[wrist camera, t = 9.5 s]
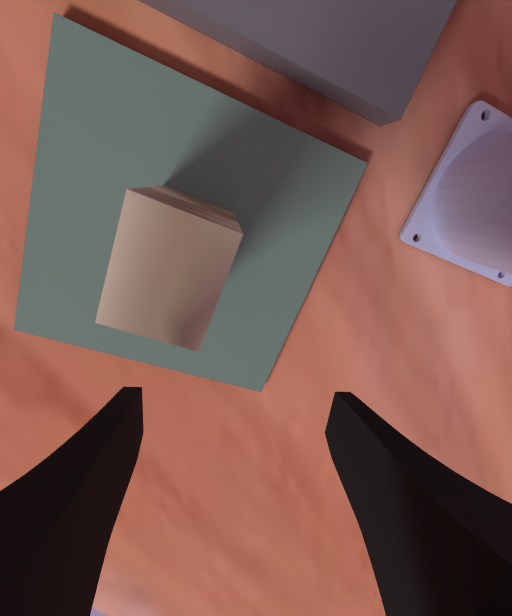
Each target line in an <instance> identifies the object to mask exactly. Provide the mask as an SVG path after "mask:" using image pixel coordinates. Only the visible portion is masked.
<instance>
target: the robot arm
mask: <svg viewBox="0 0 512 616" xmlns="http://www.w3.org/2000/svg"><path fill="white" fill-rule="evenodd" d="M482 112H484V113H485V117H484V119H483V120H482V119H481V115H482ZM415 234H417V239H416V240H415V241H413V237H414V235H415ZM400 239H401V241H403V242H405V243H407V244H409V245H412V246H414V247H416V248H419V249H421V250H423V251H426V252H428V253H431V254H433V255H435V256H438V257H440V258H442V259H445V260H447V261H449V262H452V263H454V264H456V265H459V266H461V267H464V268H466V269H468V270H471V271H473V272H475V273H478V274H480V275H482V276H485V277H487V278H489V279H492V280H494V281H497V282H499V283H501V284H504V285H506V286H512V118H511V117H510V116H508V115H506V114H505V113H503V112H501V111H499V110H498V109H496V108H494V107H493V106H491V105H489V104H488V103H486V102H484V101H482V100H479V101H475V102H473V103H471V104H470V105H469V106H468V107H467V109H466V111H465V113H464V114H463V116H462V118H461V120H460V122H459V124H458V126H457V127H456V129H455V131H454V133H453V135H452V137H451V139H450V141H449V142H448V144H447V146H446V148H445V150H444V152H443V154H442V155H441V157H440V159H439V161H438V163H437V165H436V167H435V168H434V170H433V172H432V174H431V176H430V178H429V180H428V181H427V183H426V185H425V187H424V189H423V191H422V193H421V195H420V196H419V198H418V200H417V202H416V204H415V206H414V208H413V209H412V211H411V213H410V215H409V217H408V219H407V221H406V222H405V224H404V226H403V228H402V230H401V232H400ZM500 272H501V273H500ZM499 273H500V275H499V276H498V274H499ZM325 435H326V439H327V443H328V447H329V450H330V454H331V457H332V460H333V463H334V465H335V468H336V470H337V473H338V475H339V477H340V480H341V482H342V485H343V487H344V490H345V492H346V494H347V497H348V499H349V502H350V504H351V506H352V509H353V511H354V514H355V516H356V519H357V521H358V524H359V527H360V529H361V532H362V535H363V538H364V541H365V545H366V548H367V551H368V554H369V557H370V561H371V564H372V567H373V571H374V574H375V578H376V581H377V585H378V588H379V592H380V595H381V598H382V602H383V606H384V610H385V613H386V616H512V504H511V503H509V502H507V501H505V500H503V499H501V498H499V497H497V496H496V495H494V494H492V493H490V492H488V491H486V490H485V489H483V488H481V487H480V486H478V485H476V484H474V483H473V482H471V481H469V480H467V479H466V478H464V477H462V476H461V475H459V474H458V473H456V472H454V471H453V470H451V469H450V468H448V467H447V466H445V465H444V464H442V463H441V462H439V461H438V460H436V459H435V458H433V457H432V456H430V455H429V454H427V453H426V452H425V451H423V450H422V449H420V448H419V447H418V446H416V445H415V444H414V443H412V442H411V441H410V440H408V439H407V438H406V437H405V436H403V435H402V434H401V433H399V432H398V431H397V430H396V429H394V428H393V427H392V426H391V425H389V424H388V423H387V422H386V421H385V420H383V419H382V418H381V417H380V416H379V415H377V414H376V413H375V412H374V411H373V410H372V409H370V408H369V407H368V406H367V405H366V404H364V403H363V402H362V401H361V400H360V399H358V398H357V397H356V396H355V395H353V394H352V393H351V392H335V394H334V398H333V402H332V406H331V410H330V414H329V418H328V422H327V426H326V430H325ZM142 436H143V406H142V387H123V388H122V389H121V390H120V391H119V392H118V393H117V394H116V395H115V396H114V397H113V398H112V399H111V400H110V401H109V402H108V403H107V404H106V405H105V406H104V407H103V408H102V409H101V410H100V411H99V412H98V413H97V414H96V415H95V416H94V417H93V418H92V419H91V420H89V421H88V422H87V423H86V424H85V425H84V426H83V427H82V428H81V429H80V430H79V431H78V432H77V433H75V434H74V435H73V436H72V437H71V438H70V439H68V440H67V441H66V442H65V443H64V444H63V445H62V446H60V447H59V448H58V449H57V450H56V451H54V452H53V453H52V454H51V455H50V456H48V457H47V458H46V459H45V460H43V461H42V462H41V463H39V464H38V465H37V466H35V467H34V468H33V469H31V470H30V471H29V472H27V473H26V474H25V475H23V476H22V477H21V478H19V479H18V480H16V481H15V482H13V483H12V484H10V485H9V486H7V487H6V488H4V489H3V490H1V491H0V616H90V613H91V609H92V605H93V601H94V597H95V593H96V589H97V585H98V581H99V577H100V573H101V569H102V565H103V562H104V558H105V554H106V550H107V546H108V543H109V540H110V536H111V533H112V530H113V527H114V524H115V521H116V518H117V516H118V513H119V510H120V507H121V504H122V501H123V499H124V496H125V493H126V490H127V487H128V485H129V482H130V479H131V476H132V473H133V470H134V467H135V464H136V461H137V458H138V454H139V449H140V445H141V441H142Z"/></svg>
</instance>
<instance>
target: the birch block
mask: <svg viewBox="0 0 512 616" xmlns="http://www.w3.org/2000/svg"><path fill="white" fill-rule="evenodd" d="M242 236H243V232H242V230H241V228H240V225H239V223H238V220H237V218H236V216H235V213H232V212H230V211H227V210H225V209H222V208H220V207H217V206H215V205H212V204H210V203H207V202H205V201H202V200H200V199H197V198H195V197H192V196H190V195H187V194H185V193H182V192H180V191H177V190H175V189H172V188H170V187H167V186H165V185H158V186H149V187H140V188H131V189H126V193H125V198H124V202H123V206H122V210H121V215H120V219H119V223H118V227H117V232H116V236H115V240H114V244H113V249H112V253H111V257H110V261H109V265H108V270H107V274H106V278H105V282H104V287H103V291H102V295H101V299H100V304H99V308H98V312H97V316H96V321H95V323H97V324H101V325H104V326H108V327H111V328H115V329H118V330H122V331H126V332H129V333H133V334H136V335H140V336H143V337H147V338H150V339H154V340H158V341H161V342H165V343H168V344H172V345H175V346H179V347H183V348H186V349H190V350H193V351H197V352H199V351H200V348H201V345H202V343H203V340H204V337H205V335H206V332H207V329H208V327H209V324H210V321H211V319H212V316H213V313H214V311H215V308H216V305H217V303H218V300H219V297H220V295H221V292H222V289H223V287H224V284H225V281H226V279H227V276H228V273H229V271H230V268H231V265H232V263H233V260H234V258H235V255H236V252H237V250H238V247H239V244H240V242H241V239H242Z"/></svg>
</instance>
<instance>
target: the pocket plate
mask: <svg viewBox="0 0 512 616" xmlns="http://www.w3.org/2000/svg"><path fill="white" fill-rule="evenodd" d="M139 1H141V2H143V3H145V4H147V5H149V6H151V7H153V8H154V9H156V10H158V11H160V12H162V13H164V14H166V15H168V16H170V17H172V18H174V19H176V20H178V21H179V22H181V23H183V24H185V25H187V26H189V27H191V28H193V29H195V30H197V31H199V32H201V33H203V34H204V35H206V36H208V37H210V38H212V39H214V40H216V41H218V42H220V43H222V44H224V45H226V46H228V47H229V48H231V49H233V50H235V51H237V52H239V53H241V54H243V55H245V56H247V57H249V58H251V59H253V60H254V61H256V62H258V63H260V64H262V65H264V66H266V67H268V68H270V69H272V70H274V71H276V72H278V73H279V74H281V75H283V76H285V77H287V78H289V79H291V80H293V81H295V82H297V83H299V84H301V85H303V86H304V87H306V88H308V89H310V90H312V91H314V92H316V93H318V94H320V95H322V96H324V97H326V98H328V99H329V100H331V101H333V102H335V103H337V104H339V105H341V106H343V107H345V108H347V109H349V110H351V111H353V112H354V113H356V114H358V115H360V116H362V117H364V118H366V119H368V120H370V121H372V122H374V123H376V124H378V125H379V126H382V125H385V124H389V123H392V122H395V121H398V120H400V119H401V117H402V115H403V113H404V111H405V109H406V107H407V104H408V102H409V100H410V98H411V96H412V94H413V92H414V90H415V88H416V86H417V84H418V81H419V79H420V77H421V75H422V73H423V71H424V69H425V67H426V65H427V63H428V60H429V58H430V56H431V54H432V52H433V50H434V48H435V46H436V44H437V42H438V40H439V37H440V35H441V33H442V31H443V29H444V27H445V25H446V23H447V21H448V19H449V17H450V14H451V12H452V10H453V8H454V6H455V4H456V2H457V0H139Z"/></svg>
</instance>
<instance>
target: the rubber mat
mask: <svg viewBox="0 0 512 616" xmlns="http://www.w3.org/2000/svg"><path fill="white" fill-rule="evenodd" d="M367 164H368V163H366V162H364V161H362V160H360V159H358V158H356V157H354V156H352V155H350V154H348V153H346V152H344V151H342V150H339V149H337V148H335V147H333V146H331V145H329V144H327V143H325V142H323V141H321V140H319V139H317V138H315V137H312V136H310V135H308V134H306V133H304V132H302V131H300V130H298V129H296V128H294V127H292V126H290V125H287V124H285V123H283V122H281V121H279V120H277V119H275V118H273V117H271V116H269V115H267V114H265V113H263V112H260V111H258V110H256V109H254V108H252V107H250V106H248V105H246V104H244V103H242V102H240V101H238V100H236V99H233V98H231V97H229V96H227V95H225V94H223V93H221V92H219V91H217V90H215V89H213V88H211V87H208V86H206V85H204V84H202V83H200V82H198V81H196V80H194V79H192V78H190V77H188V76H186V75H184V74H181V73H179V72H177V71H175V70H173V69H171V68H169V67H167V66H165V65H163V64H161V63H159V62H157V61H154V60H152V59H150V58H148V57H146V56H144V55H142V54H140V53H138V52H136V51H134V50H132V49H129V48H127V47H125V46H123V45H121V44H119V43H117V42H115V41H113V40H111V39H109V38H107V37H105V36H102V35H100V34H98V33H96V32H94V31H92V30H90V29H88V28H86V27H84V26H82V25H80V24H78V23H75V22H73V21H71V20H69V19H67V18H65V17H63V16H61V15H59V14H57V13H55V12H54V14H53V22H52V30H51V38H50V46H49V54H48V62H47V70H46V78H45V86H44V94H43V102H42V110H41V118H40V126H39V134H38V142H37V150H36V158H35V166H34V174H33V182H32V190H31V198H30V206H29V214H28V222H27V230H26V238H25V246H24V254H23V262H22V270H21V278H20V286H19V294H18V302H17V310H16V318H15V326H14V330H17V331H21V332H25V333H29V334H33V335H37V336H41V337H45V338H49V339H53V340H57V341H61V342H65V343H69V344H73V345H77V346H81V347H85V348H89V349H92V350H96V351H100V352H104V353H108V354H112V355H116V356H120V357H124V358H128V359H132V360H136V361H140V362H144V363H148V364H152V365H156V366H160V367H164V368H168V369H172V370H176V371H180V372H184V373H188V374H191V375H195V376H199V377H203V378H207V379H211V380H215V381H219V382H223V383H227V384H231V385H235V386H239V387H243V388H247V389H251V390H255V391H259V392H261V391H262V389H263V387H264V385H265V383H266V381H267V379H268V376H269V374H270V372H271V370H272V368H273V366H274V364H275V361H276V359H277V357H278V355H279V353H280V351H281V349H282V346H283V344H284V342H285V340H286V338H287V336H288V334H289V331H290V329H291V327H292V325H293V323H294V321H295V319H296V316H297V314H298V312H299V310H300V308H301V306H302V304H303V301H304V299H305V297H306V295H307V293H308V291H309V289H310V286H311V284H312V282H313V280H314V278H315V276H316V273H317V271H318V269H319V267H320V265H321V263H322V261H323V258H324V256H325V254H326V252H327V250H328V248H329V246H330V243H331V241H332V239H333V237H334V235H335V233H336V231H337V228H338V226H339V224H340V222H341V220H342V218H343V216H344V213H345V211H346V209H347V207H348V205H349V203H350V201H351V198H352V196H353V194H354V192H355V190H356V188H357V186H358V183H359V181H360V179H361V177H362V175H363V173H364V171H365V168H366V166H367ZM158 185H165V186H167V187H170V188H172V189H175V190H177V191H180V192H182V193H185V194H187V195H190V196H192V197H195V198H197V199H200V200H202V201H205V202H207V203H210V204H212V205H215V206H217V207H220V208H222V209H225V210H227V211H230V212H232V213H235V216H236V218H237V220H238V223H239V225H240V228H241V230H242V232H243V236H242V239H241V242H240V244H239V247H238V250H237V252H236V255H235V258H234V260H233V263H232V265H231V268H230V271H229V273H228V276H227V279H226V281H225V284H224V287H223V289H222V292H221V295H220V297H219V300H218V303H217V305H216V308H215V311H214V313H213V316H212V319H211V321H210V324H209V327H208V329H207V332H206V335H205V337H204V340H203V343H202V345H201V348H200V351H199V352H197V351H193V350H190V349H186V348H183V347H179V346H175V345H172V344H168V343H165V342H161V341H158V340H154V339H150V338H147V337H143V336H140V335H136V334H133V333H129V332H126V331H122V330H118V329H115V328H111V327H108V326H104V325H101V324H97V323H95V321H96V316H97V312H98V308H99V304H100V299H101V295H102V291H103V287H104V282H105V278H106V274H107V270H108V265H109V261H110V257H111V253H112V249H113V244H114V240H115V236H116V232H117V227H118V223H119V219H120V215H121V210H122V206H123V202H124V198H125V193H126V189H131V188H140V187H149V186H158Z"/></svg>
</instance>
